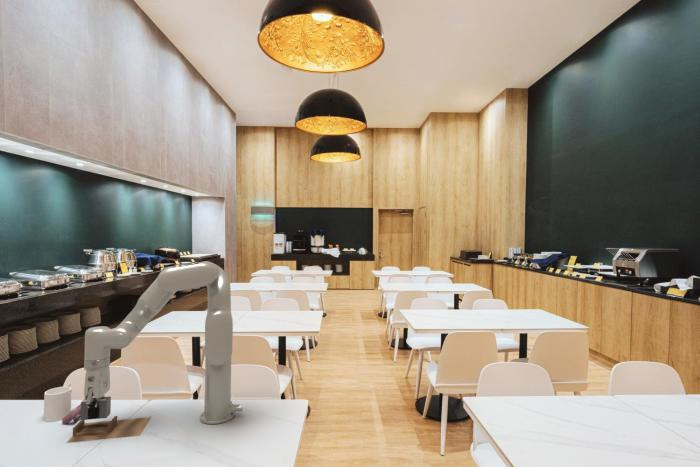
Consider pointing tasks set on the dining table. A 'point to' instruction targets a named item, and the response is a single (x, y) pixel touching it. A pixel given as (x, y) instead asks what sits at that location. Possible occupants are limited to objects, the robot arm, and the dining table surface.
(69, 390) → the cup
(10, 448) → the dining table surface
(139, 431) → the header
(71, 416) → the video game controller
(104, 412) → the dark grey box
